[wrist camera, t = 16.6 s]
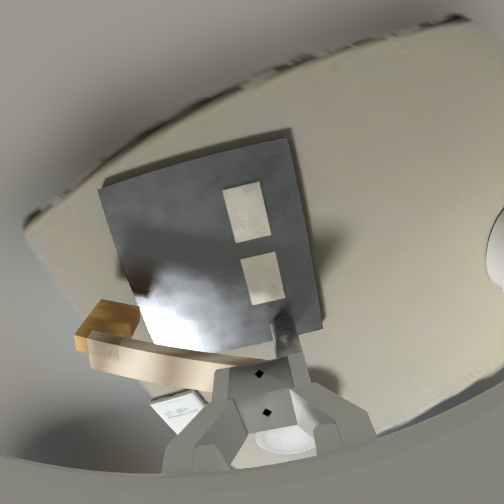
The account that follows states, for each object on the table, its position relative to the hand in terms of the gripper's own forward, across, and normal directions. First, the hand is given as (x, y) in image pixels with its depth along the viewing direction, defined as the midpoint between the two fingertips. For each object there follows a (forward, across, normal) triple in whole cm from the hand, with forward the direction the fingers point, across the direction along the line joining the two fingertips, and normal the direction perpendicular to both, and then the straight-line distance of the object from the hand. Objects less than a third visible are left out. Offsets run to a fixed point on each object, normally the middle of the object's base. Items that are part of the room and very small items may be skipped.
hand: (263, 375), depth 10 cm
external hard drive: (+28, +17, +31) cm, 45 cm away
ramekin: (+27, +1, +33) cm, 43 cm away
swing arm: (+24, +11, +11) cm, 28 cm away
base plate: (+27, +5, +5) cm, 28 cm away
